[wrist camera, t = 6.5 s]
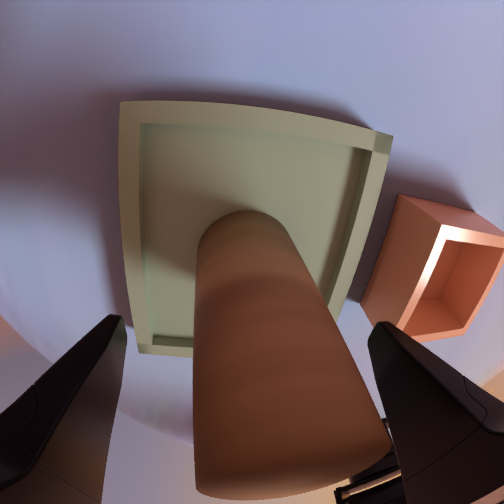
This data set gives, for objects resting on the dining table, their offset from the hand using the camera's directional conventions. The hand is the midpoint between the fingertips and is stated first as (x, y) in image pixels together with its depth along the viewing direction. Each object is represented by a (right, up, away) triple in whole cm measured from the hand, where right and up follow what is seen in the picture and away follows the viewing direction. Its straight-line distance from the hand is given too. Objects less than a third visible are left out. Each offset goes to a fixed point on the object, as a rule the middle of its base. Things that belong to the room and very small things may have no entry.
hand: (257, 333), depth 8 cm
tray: (-1, +3, +5) cm, 6 cm away
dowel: (0, +2, +4) cm, 4 cm away
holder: (+10, +2, +6) cm, 12 cm away
